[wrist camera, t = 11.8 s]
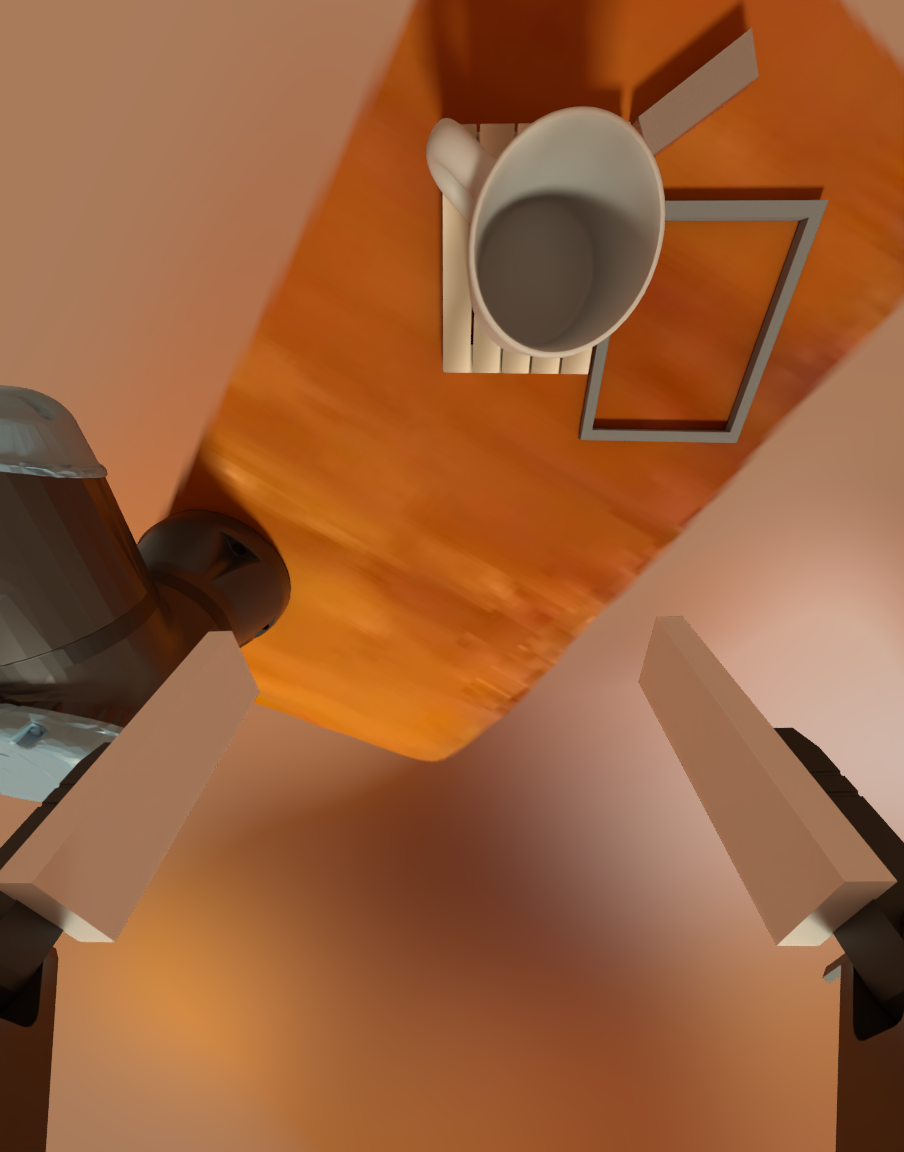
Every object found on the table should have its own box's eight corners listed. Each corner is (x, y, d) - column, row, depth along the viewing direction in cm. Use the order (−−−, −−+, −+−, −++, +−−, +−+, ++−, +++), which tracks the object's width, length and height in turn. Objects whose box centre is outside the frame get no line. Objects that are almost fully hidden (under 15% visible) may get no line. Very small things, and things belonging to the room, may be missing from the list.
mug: (624, 265, 25) (713, 220, 16) (534, 380, 29) (562, 398, 20) (484, 105, 22) (491, -73, 13) (402, 258, 26) (361, 210, 16)
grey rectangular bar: (636, 170, 25) (648, 158, 23) (626, 132, 24) (638, 116, 22) (737, 96, 23) (758, 76, 21) (730, 51, 22) (751, 27, 20)
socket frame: (578, 437, 33) (580, 439, 32) (618, 204, 25) (622, 201, 25) (730, 440, 33) (736, 442, 32) (819, 203, 25) (828, 200, 24)
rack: (443, 370, 31) (441, 372, 29) (443, 141, 24) (440, 124, 22) (582, 372, 31) (589, 374, 29) (620, 139, 24) (632, 122, 22)
